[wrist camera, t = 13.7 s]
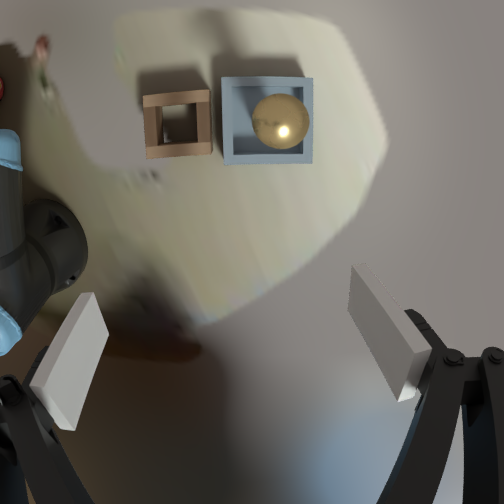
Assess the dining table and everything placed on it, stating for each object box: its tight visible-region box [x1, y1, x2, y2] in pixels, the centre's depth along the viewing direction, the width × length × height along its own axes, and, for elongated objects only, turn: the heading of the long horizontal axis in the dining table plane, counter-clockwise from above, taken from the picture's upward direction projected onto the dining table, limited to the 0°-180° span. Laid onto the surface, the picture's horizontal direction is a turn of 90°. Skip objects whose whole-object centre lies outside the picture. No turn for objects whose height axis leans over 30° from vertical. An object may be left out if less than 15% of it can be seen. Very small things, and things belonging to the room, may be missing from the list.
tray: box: [221, 76, 313, 165], centre depth 38 cm, size 11×11×4 cm
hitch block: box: [143, 89, 213, 159], centre depth 37 cm, size 8×8×4 cm
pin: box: [252, 93, 310, 149], centre depth 32 cm, size 5×5×15 cm
